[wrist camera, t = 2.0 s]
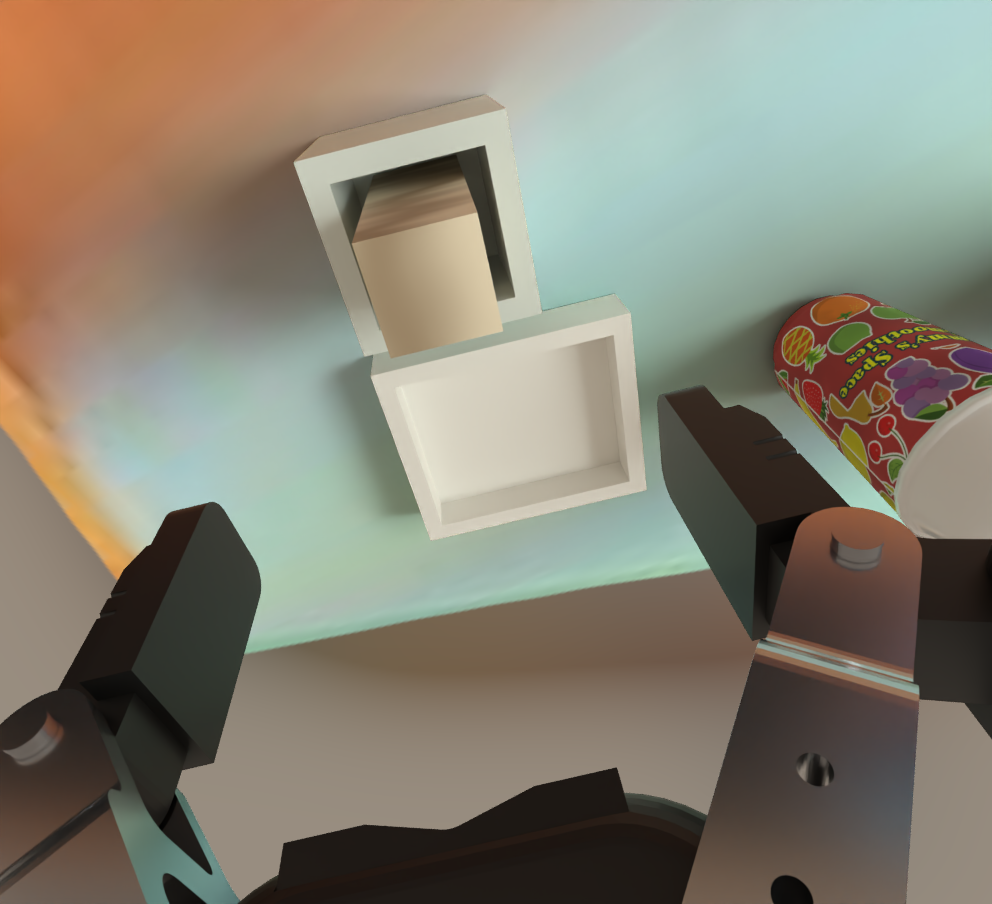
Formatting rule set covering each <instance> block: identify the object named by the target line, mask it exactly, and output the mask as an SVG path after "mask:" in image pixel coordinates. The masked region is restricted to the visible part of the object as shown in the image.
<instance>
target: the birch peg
mask: <svg viewBox="0 0 992 904" xmlns="http://www.w3.org/2000/svg"><path fill="white" fill-rule="evenodd" d="M352 246H353V249H354V252H355V255H356V258H357V261H358V264H359V267H360V270H361V273H362V276H363V278H364V281H365V284H366V287H367V290H368V293H369V296H370V299H371V302H372V305H373V308H374V311H375V314H376V317H377V320H378V323H379V326H380V329H381V331H382V334H383V337H384V340H385V343H386V346H387V349H388V352H389V355H390V358H395V357H399V356H404V355H408V354H412V353H416V352H420V351H424V350H428V349H432V348H436V347H441V346H445V345H449V344H453V343H457V342H461V341H465V340H469V339H473V338H477V337H482V336H486V335H490V334H494V333H498V332H502V331H503V327H502V322H501V318H500V313H499V309H498V304H497V300H496V295H495V290H494V286H493V281H492V277H491V272H490V268H489V263H488V258H487V254H486V249H485V245H484V240H483V236H482V231H481V226H480V222H479V217H478V213H477V210H476V207H475V204H474V202H473V199H472V196H471V194H470V191H469V188H468V186H467V183H466V180H465V177H464V175H463V172H462V169H461V167H460V164H459V161H458V159H457V156H456V155H452V156H448V157H444V158H440V159H436V160H432V161H428V162H424V163H420V164H416V165H413V166H409V167H405V168H401V169H397V170H393V171H389V172H385V173H381V174H377V175H373V178H372V182H371V185H370V188H369V191H368V194H367V197H366V200H365V203H364V207H363V210H362V213H361V216H360V219H359V222H358V225H357V229H356V232H355V235H354V238H353V241H352Z"/></svg>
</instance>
